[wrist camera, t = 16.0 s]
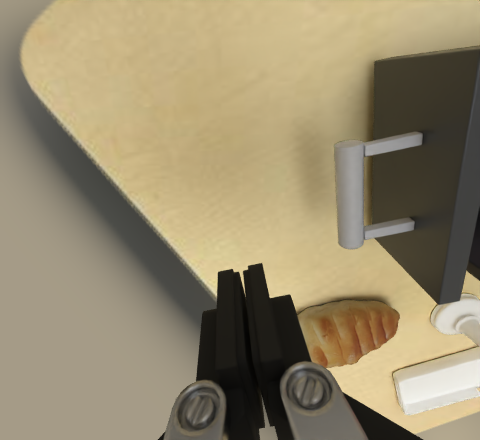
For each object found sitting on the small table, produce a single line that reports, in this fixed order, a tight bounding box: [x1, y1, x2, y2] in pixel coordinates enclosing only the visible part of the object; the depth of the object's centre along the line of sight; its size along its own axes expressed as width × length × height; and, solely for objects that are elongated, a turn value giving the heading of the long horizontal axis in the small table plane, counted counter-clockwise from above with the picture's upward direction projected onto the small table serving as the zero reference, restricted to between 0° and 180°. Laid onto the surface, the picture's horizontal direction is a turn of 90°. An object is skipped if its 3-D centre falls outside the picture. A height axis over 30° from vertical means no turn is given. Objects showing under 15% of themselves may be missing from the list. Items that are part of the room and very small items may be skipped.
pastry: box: [297, 300, 400, 368], centre depth 26 cm, size 9×7×4 cm
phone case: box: [393, 347, 480, 415], centre depth 32 cm, size 7×1×15 cm
